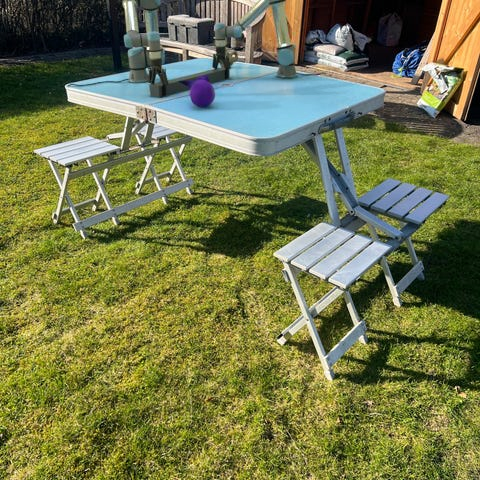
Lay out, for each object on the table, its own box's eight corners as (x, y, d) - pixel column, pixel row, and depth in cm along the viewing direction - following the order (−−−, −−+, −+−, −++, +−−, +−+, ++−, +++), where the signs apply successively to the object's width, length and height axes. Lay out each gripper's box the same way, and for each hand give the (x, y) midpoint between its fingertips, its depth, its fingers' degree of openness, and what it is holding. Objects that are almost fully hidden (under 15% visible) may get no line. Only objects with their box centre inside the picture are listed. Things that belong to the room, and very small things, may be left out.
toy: (202, 98, 286) (215, 113, 265) (176, 93, 278) (186, 109, 258) (208, 73, 277) (221, 86, 257) (180, 67, 270) (192, 81, 249)
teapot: (219, 70, 373) (218, 50, 365) (212, 68, 382) (211, 49, 374) (241, 67, 382) (240, 48, 375) (234, 65, 391) (233, 46, 383)
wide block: (159, 97, 291) (158, 86, 287) (150, 96, 295) (149, 84, 291) (229, 78, 342) (229, 68, 338) (221, 77, 346) (220, 67, 342)
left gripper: (172, 59, 281) (175, 95, 293) (148, 56, 292) (152, 92, 304) (163, 60, 276) (167, 98, 287) (139, 58, 287) (144, 94, 299)
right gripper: (235, 46, 326) (236, 78, 338) (212, 44, 337) (214, 76, 349) (228, 47, 321) (229, 80, 333) (206, 45, 332) (207, 77, 344)
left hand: (159, 95), depth 296 cm, fingers closed on wide block, 9 cm apart
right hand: (221, 78), depth 341 cm, fingers closed on wide block, 9 cm apart
